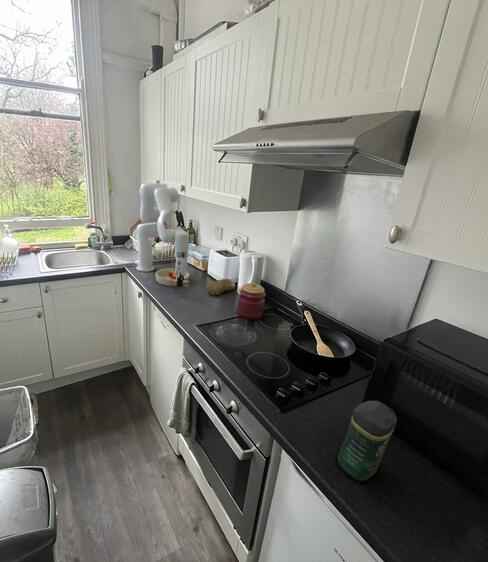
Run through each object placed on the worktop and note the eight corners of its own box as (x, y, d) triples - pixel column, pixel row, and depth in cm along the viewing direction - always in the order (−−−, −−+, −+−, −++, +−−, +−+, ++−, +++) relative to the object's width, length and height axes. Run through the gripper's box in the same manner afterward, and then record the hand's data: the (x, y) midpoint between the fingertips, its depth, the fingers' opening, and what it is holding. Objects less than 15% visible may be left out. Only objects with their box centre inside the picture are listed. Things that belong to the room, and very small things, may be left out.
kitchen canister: (254, 307, 161) (259, 276, 154) (266, 318, 149) (272, 286, 143) (232, 309, 157) (236, 277, 150) (243, 320, 145) (248, 287, 139)
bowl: (148, 281, 186) (148, 274, 185) (168, 272, 204) (168, 266, 202) (176, 289, 177) (177, 282, 175) (195, 279, 194) (195, 272, 193)
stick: (189, 285, 171) (189, 280, 170) (188, 287, 168) (188, 282, 167) (172, 283, 172) (172, 278, 171) (171, 285, 170) (171, 280, 169)
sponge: (224, 287, 188) (199, 286, 176) (229, 276, 185) (203, 274, 173) (236, 298, 179) (210, 298, 167) (241, 287, 176) (215, 286, 164)
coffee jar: (360, 488, 71) (382, 430, 64) (331, 461, 77) (349, 405, 70) (382, 469, 76) (405, 414, 69) (353, 445, 82) (372, 392, 75)
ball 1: (168, 276, 195) (172, 273, 196) (170, 278, 193) (174, 276, 194) (166, 273, 193) (170, 270, 193) (168, 275, 191) (172, 273, 191)
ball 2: (175, 280, 190) (170, 278, 189) (176, 275, 189) (172, 274, 188) (175, 282, 187) (170, 280, 187) (176, 277, 186) (171, 276, 185)
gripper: (184, 258, 156) (183, 291, 162) (191, 251, 171) (189, 280, 177) (171, 257, 157) (170, 289, 163) (178, 249, 172) (177, 279, 178)
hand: (180, 284), depth 170 cm, fingers closed on stick, 2 cm apart
